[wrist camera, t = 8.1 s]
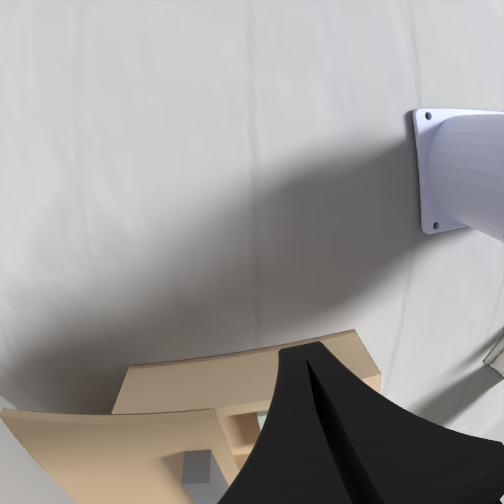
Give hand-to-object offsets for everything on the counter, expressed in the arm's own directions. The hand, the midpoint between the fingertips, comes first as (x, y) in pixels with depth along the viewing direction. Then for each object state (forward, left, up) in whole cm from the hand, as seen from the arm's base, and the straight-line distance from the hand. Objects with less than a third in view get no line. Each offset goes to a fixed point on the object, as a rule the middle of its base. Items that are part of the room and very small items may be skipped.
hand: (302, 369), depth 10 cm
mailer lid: (+13, +12, -5) cm, 18 cm away
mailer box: (+3, +12, -10) cm, 16 cm away
